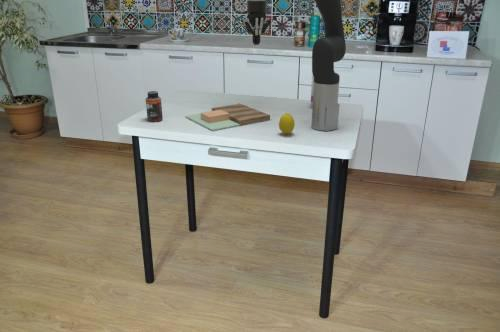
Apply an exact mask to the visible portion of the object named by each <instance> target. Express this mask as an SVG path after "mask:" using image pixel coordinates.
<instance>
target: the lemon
mask: <svg viewBox="0 0 500 332" xmlns="http://www.w3.org/2000/svg"><path fill="white" fill-rule="evenodd" d="M278 121H279V123H278V128H279V130H280V132H281V133H284V135H288V134H290V133H291V132H293V131H294V128H295V125H296V124H295V123H296V122H295V119H294V117H293V116H292V115H291V114H290V113H287V112H286V113H284V114H282V115H281V116H280V118H279V120H278Z"/></svg>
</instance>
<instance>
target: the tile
mask: <svg viewBox="0 0 500 332" xmlns="http://www.w3.org/2000/svg"><path fill="white" fill-rule="evenodd" d="M200 113H201V119H202V120H204V121H206V122H208V123H214V122H220V121H226V120H230V114H229V113H227V112H225V111H223V110H215V111H212V110H210V111H205V112H200Z"/></svg>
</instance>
